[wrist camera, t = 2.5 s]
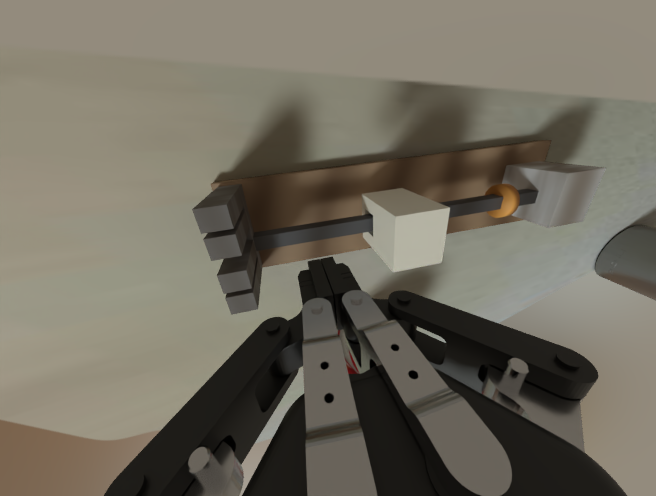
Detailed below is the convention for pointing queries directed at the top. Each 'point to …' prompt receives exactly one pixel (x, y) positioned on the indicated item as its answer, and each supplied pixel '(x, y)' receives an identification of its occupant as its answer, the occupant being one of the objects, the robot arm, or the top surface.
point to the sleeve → (406, 228)
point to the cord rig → (349, 224)
